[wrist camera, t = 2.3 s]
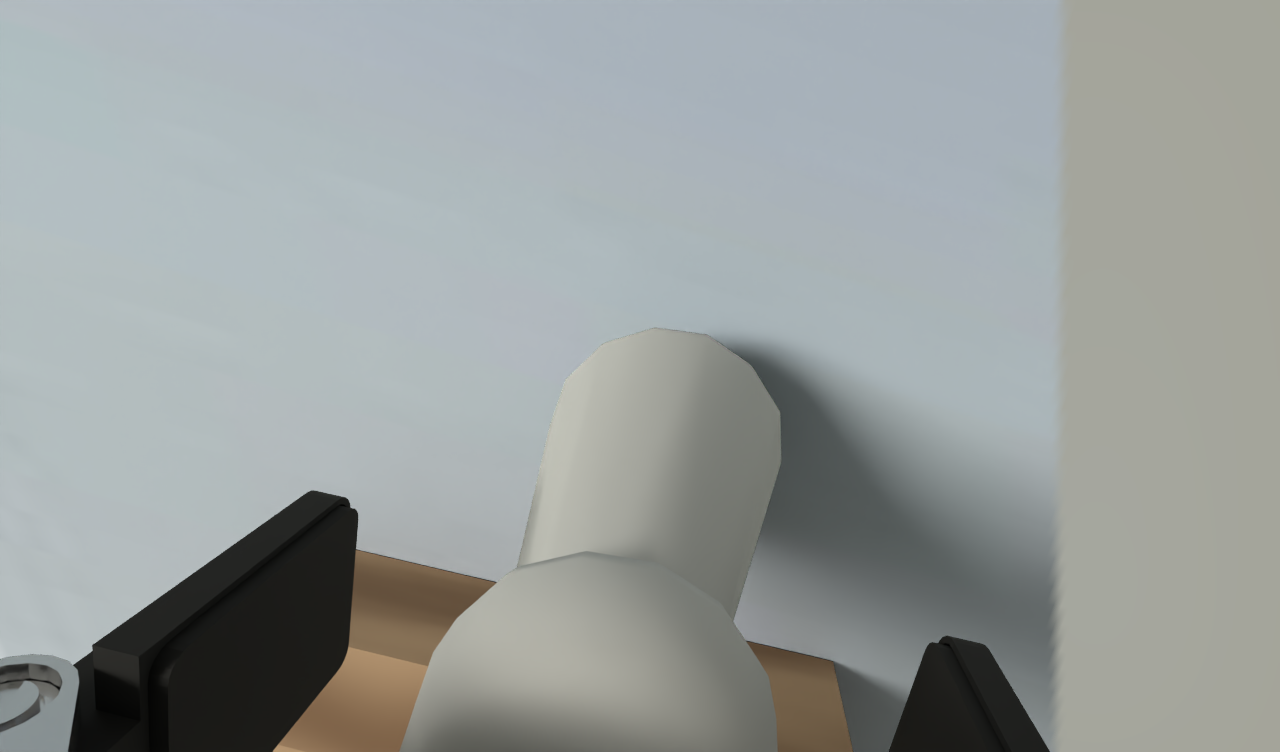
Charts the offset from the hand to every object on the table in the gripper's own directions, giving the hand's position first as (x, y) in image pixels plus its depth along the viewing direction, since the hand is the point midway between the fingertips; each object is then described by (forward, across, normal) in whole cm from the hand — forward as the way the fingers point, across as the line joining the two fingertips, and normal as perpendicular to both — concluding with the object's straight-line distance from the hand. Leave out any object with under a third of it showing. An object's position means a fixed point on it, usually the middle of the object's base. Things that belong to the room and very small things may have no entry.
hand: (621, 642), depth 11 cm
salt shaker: (+9, 0, -1) cm, 9 cm away
